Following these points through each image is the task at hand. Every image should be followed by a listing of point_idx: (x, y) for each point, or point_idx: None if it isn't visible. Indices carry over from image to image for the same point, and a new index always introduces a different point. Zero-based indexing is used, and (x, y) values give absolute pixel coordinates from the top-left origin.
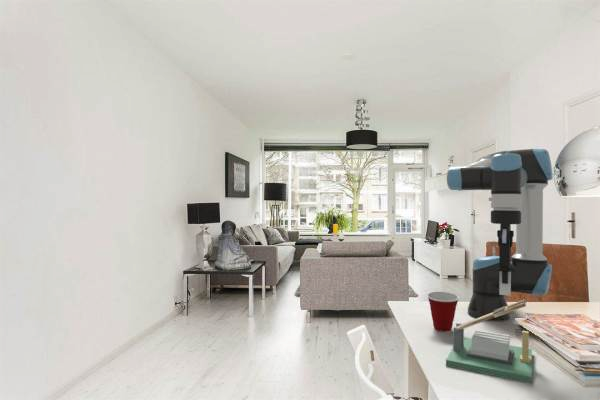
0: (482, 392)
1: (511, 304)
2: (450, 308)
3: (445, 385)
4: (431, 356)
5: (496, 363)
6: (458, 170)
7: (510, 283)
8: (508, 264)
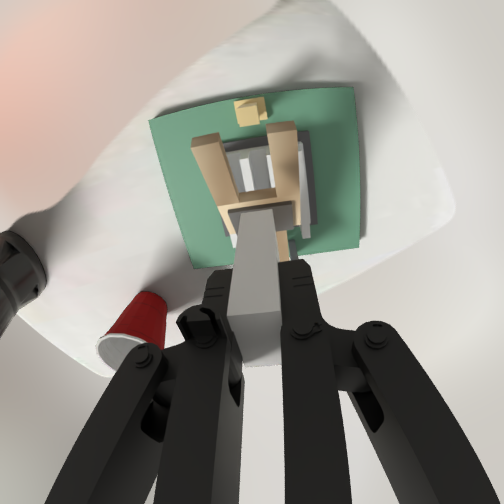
0: (434, 164)
1: (211, 193)
2: (144, 328)
3: (433, 217)
4: (325, 273)
5: (320, 160)
6: None
7: (272, 248)
8: (418, 371)
